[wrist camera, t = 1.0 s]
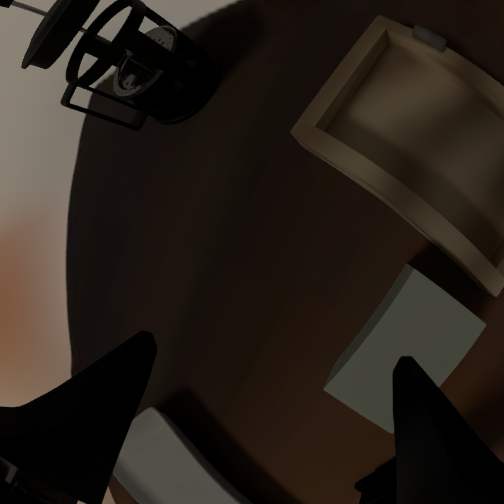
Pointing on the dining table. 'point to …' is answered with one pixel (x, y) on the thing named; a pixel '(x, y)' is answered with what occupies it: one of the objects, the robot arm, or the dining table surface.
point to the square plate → (169, 466)
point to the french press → (124, 59)
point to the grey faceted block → (402, 345)
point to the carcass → (419, 140)
